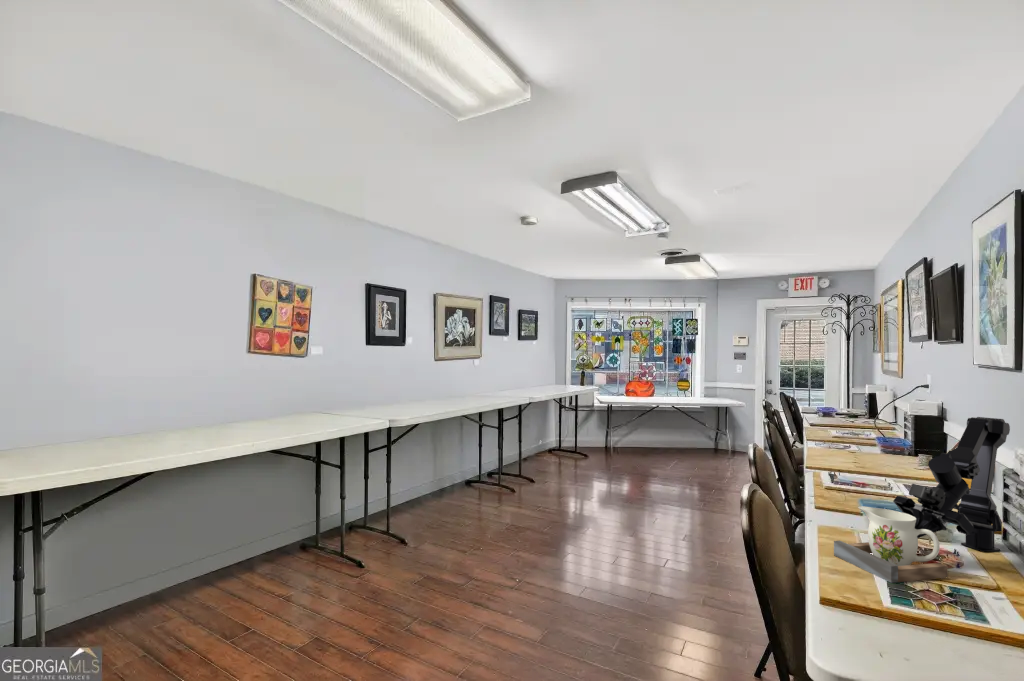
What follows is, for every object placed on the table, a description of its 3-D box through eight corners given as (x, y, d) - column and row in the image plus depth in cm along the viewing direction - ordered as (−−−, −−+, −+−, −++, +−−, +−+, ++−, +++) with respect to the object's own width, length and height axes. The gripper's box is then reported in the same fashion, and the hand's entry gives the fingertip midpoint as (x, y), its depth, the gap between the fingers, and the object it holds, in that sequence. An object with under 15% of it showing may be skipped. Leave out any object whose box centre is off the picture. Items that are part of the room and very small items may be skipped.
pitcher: (935, 581, 133) (935, 526, 133) (852, 560, 146) (852, 510, 146) (943, 569, 140) (942, 517, 141) (863, 550, 153) (863, 502, 154)
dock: (885, 551, 153) (885, 537, 153) (947, 577, 135) (947, 562, 135) (833, 555, 150) (833, 540, 150) (891, 582, 132) (891, 566, 132)
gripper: (898, 467, 155) (866, 507, 152) (964, 482, 136) (928, 528, 134) (921, 493, 156) (889, 533, 154) (989, 512, 138) (954, 558, 135)
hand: (913, 537), depth 144 cm, fingers closed, pressing on pitcher
